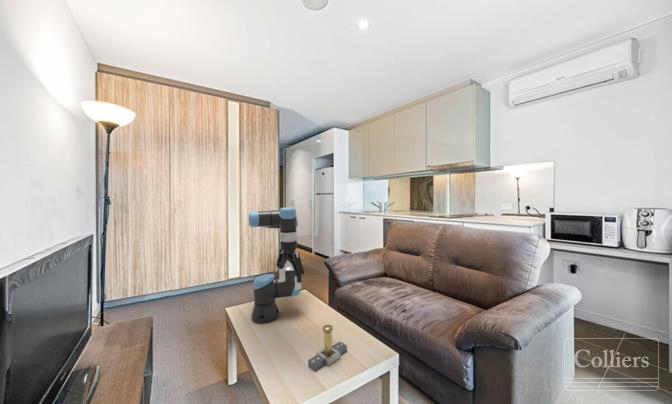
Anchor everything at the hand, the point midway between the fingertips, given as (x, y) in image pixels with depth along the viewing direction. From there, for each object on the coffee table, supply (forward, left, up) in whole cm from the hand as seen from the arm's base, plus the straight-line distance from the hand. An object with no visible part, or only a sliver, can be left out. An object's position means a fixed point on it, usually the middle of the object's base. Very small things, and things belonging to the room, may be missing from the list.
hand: (290, 285), depth 120 cm
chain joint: (+22, +4, -27) cm, 35 cm away
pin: (+22, +4, -27) cm, 35 cm away
